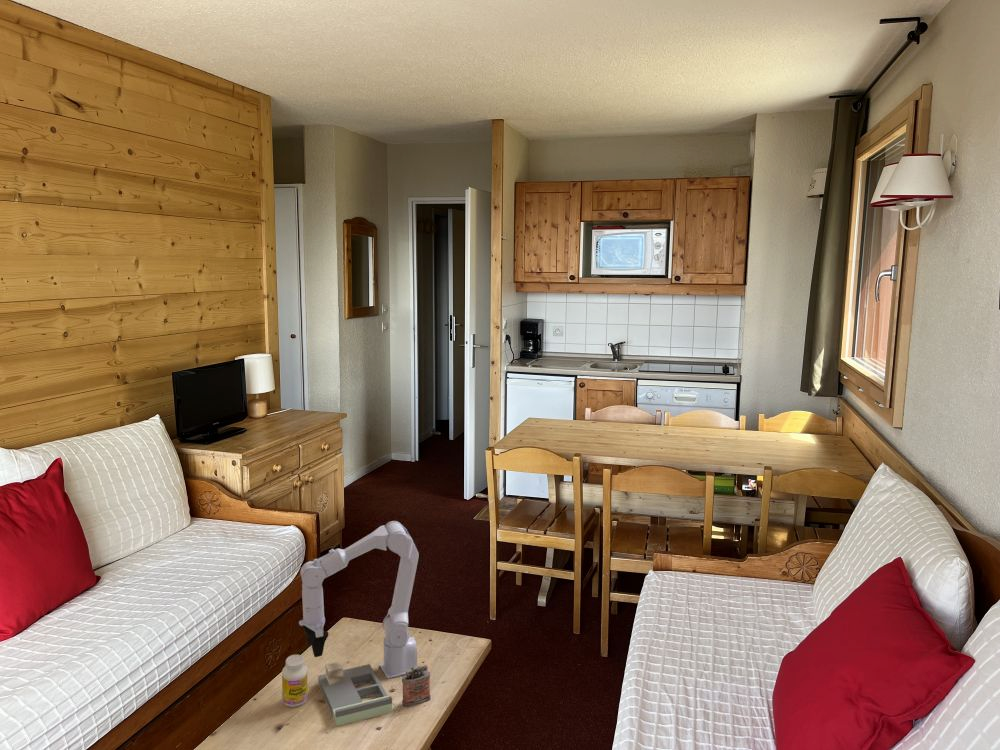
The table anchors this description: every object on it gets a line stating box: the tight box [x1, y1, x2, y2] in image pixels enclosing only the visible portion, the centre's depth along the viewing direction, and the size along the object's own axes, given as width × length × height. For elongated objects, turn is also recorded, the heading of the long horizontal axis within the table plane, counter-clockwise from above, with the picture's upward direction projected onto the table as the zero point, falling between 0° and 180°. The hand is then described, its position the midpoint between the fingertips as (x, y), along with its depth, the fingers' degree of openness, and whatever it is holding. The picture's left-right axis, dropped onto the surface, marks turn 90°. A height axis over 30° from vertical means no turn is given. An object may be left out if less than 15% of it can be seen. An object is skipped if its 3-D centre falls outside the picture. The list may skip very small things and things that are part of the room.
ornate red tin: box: [401, 664, 432, 708], centre depth 206 cm, size 8×3×10 cm, turn 117°
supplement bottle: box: [281, 654, 308, 708], centre depth 205 cm, size 7×7×13 cm
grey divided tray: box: [317, 663, 393, 727], centre depth 209 cm, size 15×22×4 cm
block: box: [325, 661, 344, 685], centre depth 213 cm, size 4×4×4 cm
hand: (315, 649), depth 215 cm, fingers open, 7 cm apart
